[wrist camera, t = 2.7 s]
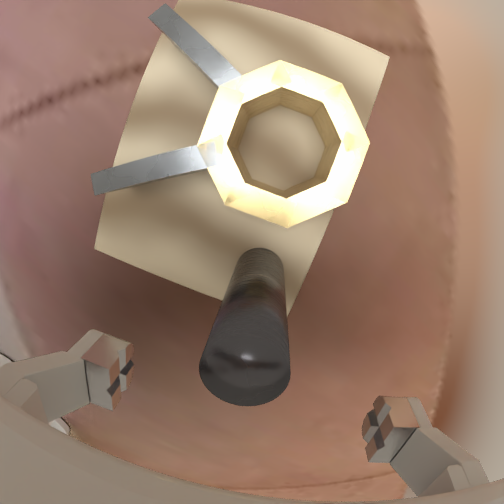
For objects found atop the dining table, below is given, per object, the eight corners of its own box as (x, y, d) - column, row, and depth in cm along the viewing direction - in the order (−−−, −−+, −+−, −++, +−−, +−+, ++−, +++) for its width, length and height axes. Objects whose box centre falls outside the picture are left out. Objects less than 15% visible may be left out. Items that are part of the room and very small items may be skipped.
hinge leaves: (305, 250, 20) (314, 277, 16) (125, 184, 20) (86, 192, 15) (366, 92, 17) (393, 73, 12) (180, 33, 17) (155, 2, 12)
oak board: (283, 313, 23) (284, 322, 22) (103, 243, 23) (94, 248, 21) (382, 63, 18) (389, 56, 16) (187, 2, 17) (182, -7, 16)
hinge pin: (273, 299, 21) (269, 415, 11) (229, 283, 21) (190, 389, 11) (291, 257, 21) (305, 353, 10) (245, 240, 20) (213, 322, 10)
